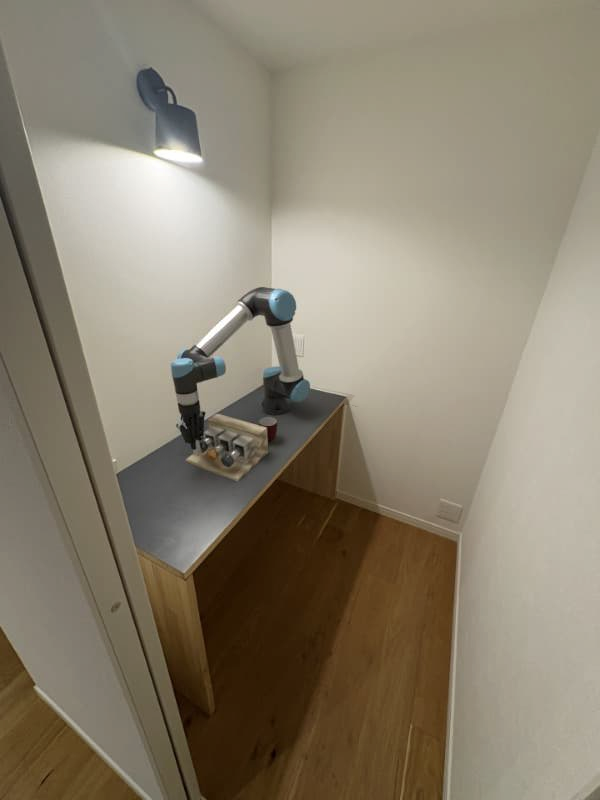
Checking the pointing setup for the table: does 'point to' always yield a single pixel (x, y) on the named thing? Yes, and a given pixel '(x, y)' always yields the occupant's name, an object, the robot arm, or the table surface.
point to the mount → (233, 446)
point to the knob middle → (217, 451)
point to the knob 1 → (206, 443)
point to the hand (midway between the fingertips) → (197, 454)
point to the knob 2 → (232, 456)
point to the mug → (269, 427)
